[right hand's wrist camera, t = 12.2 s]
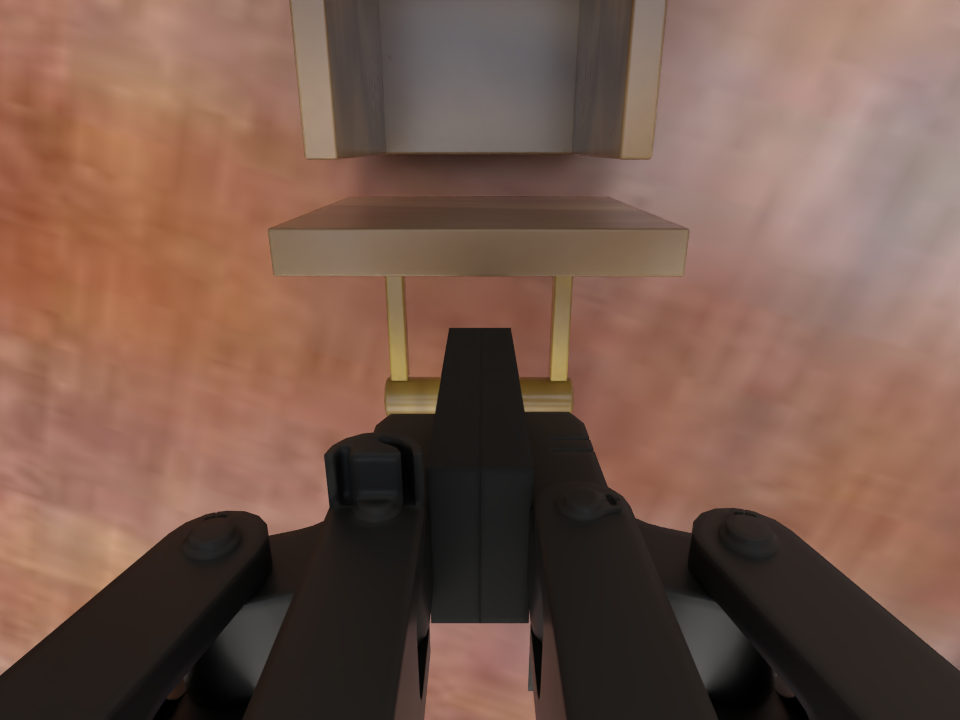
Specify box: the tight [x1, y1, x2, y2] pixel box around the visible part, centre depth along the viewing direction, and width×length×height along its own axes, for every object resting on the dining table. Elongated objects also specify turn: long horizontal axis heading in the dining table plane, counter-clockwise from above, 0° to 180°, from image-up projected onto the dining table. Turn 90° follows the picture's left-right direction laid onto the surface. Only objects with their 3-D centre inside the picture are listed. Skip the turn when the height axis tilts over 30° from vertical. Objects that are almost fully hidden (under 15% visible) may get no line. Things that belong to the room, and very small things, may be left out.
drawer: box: [268, 0, 689, 416], centre depth 17 cm, size 24×10×9 cm, turn 0°
